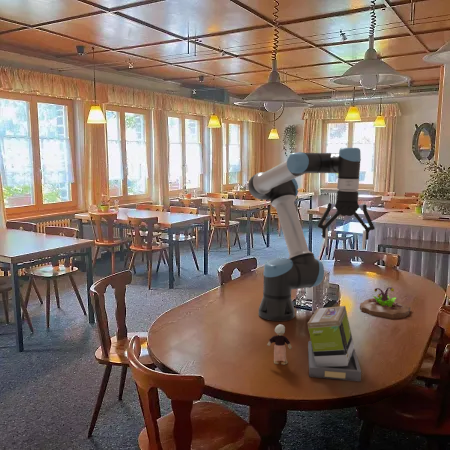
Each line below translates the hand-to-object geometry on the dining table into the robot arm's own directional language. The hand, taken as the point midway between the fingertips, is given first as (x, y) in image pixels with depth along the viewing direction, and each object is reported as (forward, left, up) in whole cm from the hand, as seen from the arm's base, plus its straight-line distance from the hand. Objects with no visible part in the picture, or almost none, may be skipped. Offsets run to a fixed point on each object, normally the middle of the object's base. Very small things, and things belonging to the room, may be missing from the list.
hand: (344, 247), depth 167 cm
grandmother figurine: (-22, -32, -33) cm, 51 cm away
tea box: (-4, -29, -31) cm, 42 cm away
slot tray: (-5, -30, -33) cm, 44 cm away
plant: (+22, +28, -33) cm, 49 cm away
